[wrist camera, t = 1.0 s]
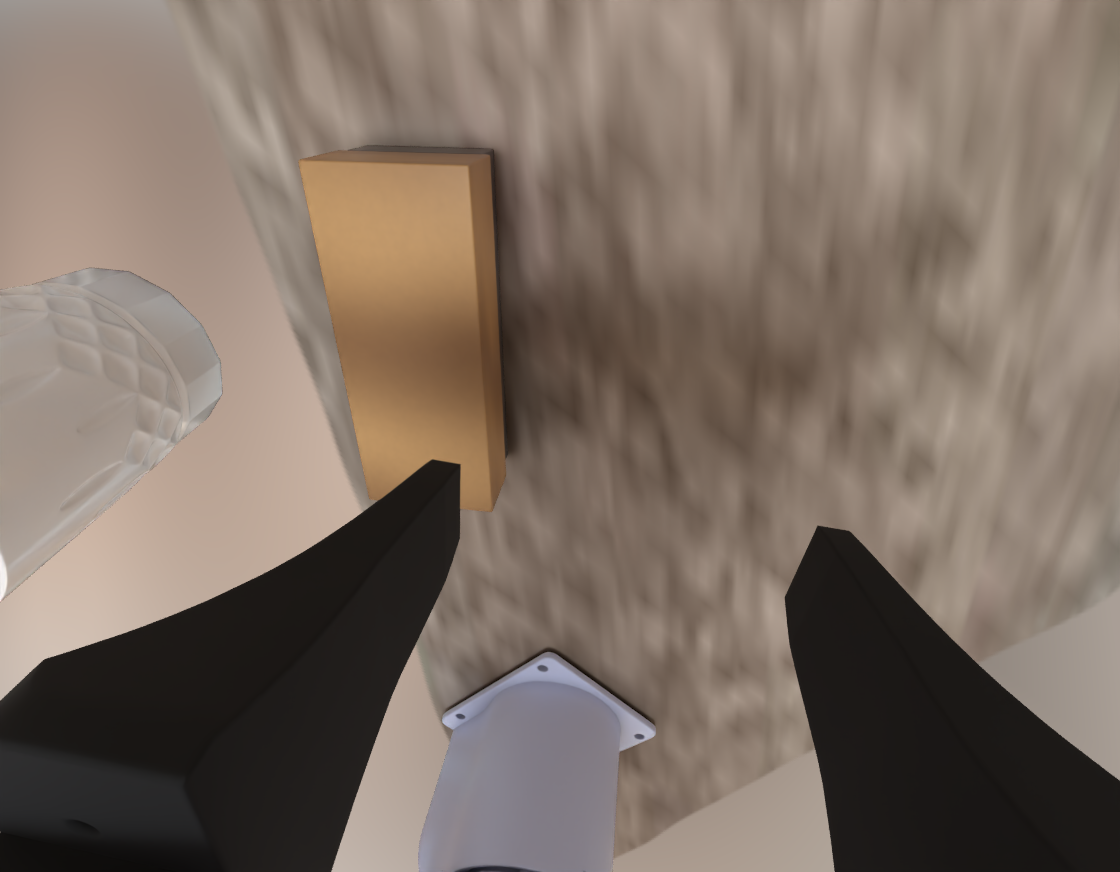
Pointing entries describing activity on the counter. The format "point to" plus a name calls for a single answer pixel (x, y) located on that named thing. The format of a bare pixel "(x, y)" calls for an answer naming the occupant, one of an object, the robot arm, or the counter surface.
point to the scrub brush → (415, 308)
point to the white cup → (89, 403)
